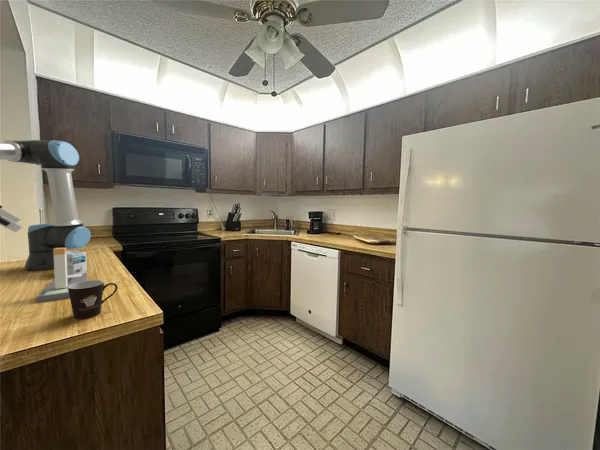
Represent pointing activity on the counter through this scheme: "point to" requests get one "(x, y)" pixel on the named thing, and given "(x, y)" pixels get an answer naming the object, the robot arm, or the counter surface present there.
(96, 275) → the counter surface
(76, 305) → the coffee mug
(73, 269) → the light bulb box
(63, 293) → the plate
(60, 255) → the breaker lever
